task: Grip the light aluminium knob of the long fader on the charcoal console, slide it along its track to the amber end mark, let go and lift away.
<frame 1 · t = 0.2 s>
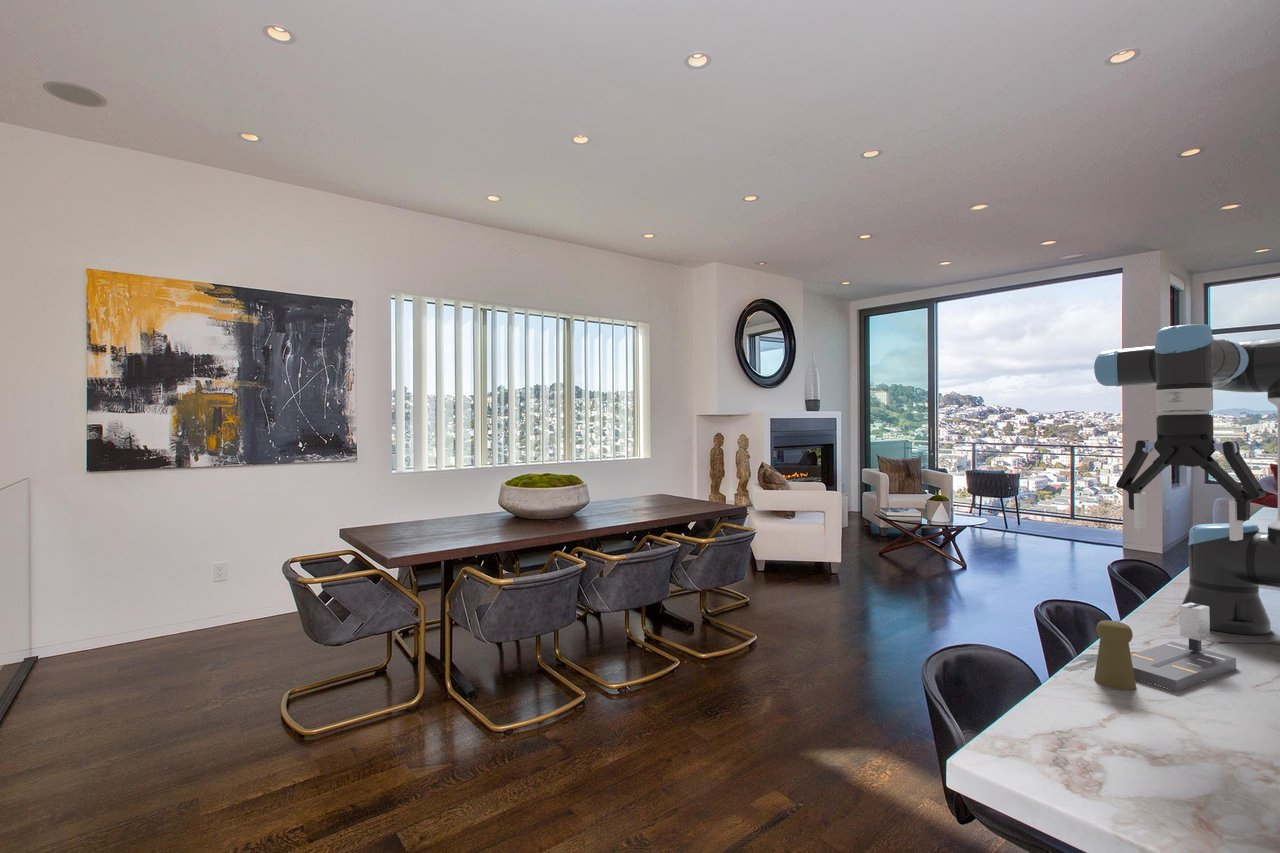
hand: (1185, 533, 108), 27 cm above the kitchen island, tool pointing down, fingers open, 13 cm apart
fader console: (1174, 670, 116), on the kitchen island
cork: (1114, 684, 111), on the kitchen island
fader knob: (1194, 627, 120), point 7 cm above the kitchen island, slide at 0.0 cm
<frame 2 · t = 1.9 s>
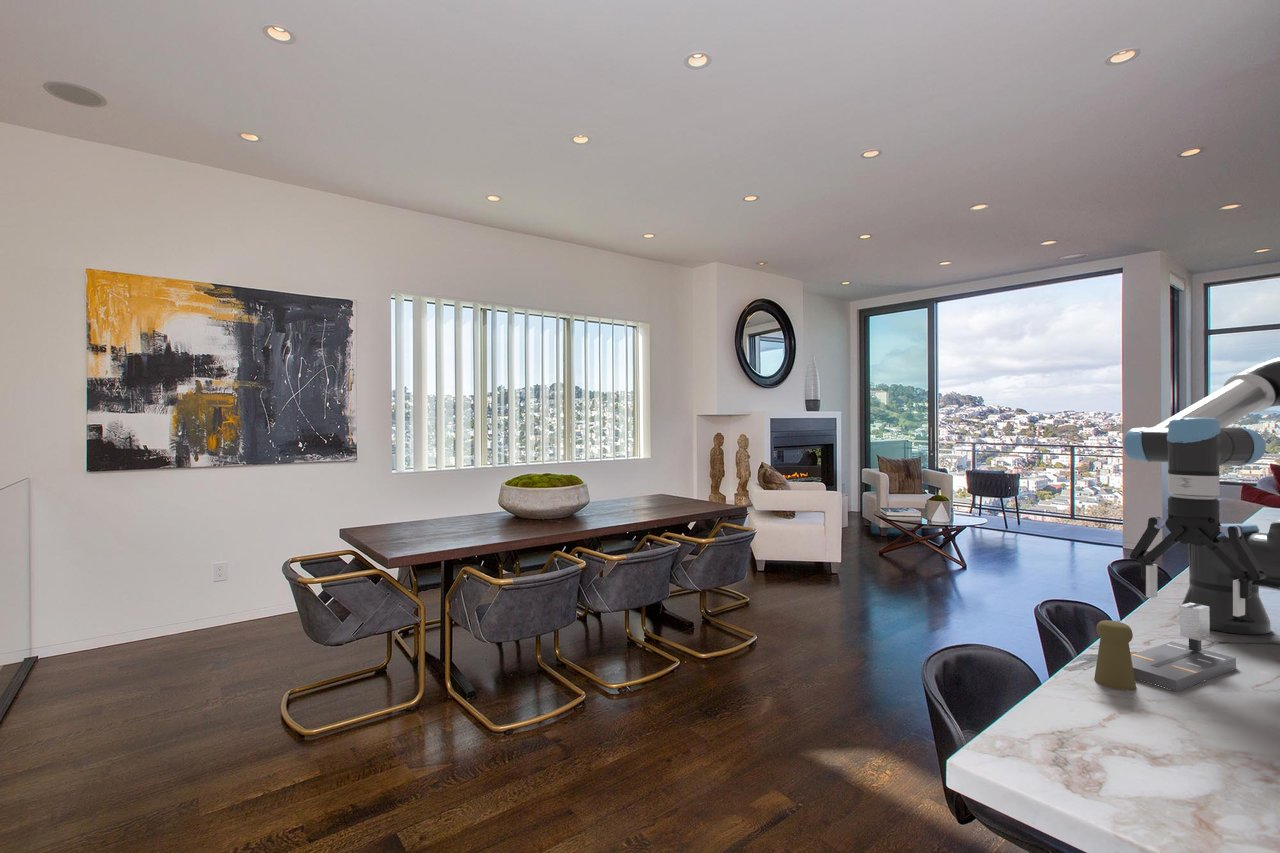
hand: (1193, 605, 120), 11 cm above the kitchen island, tool pointing down, fingers open, 13 cm apart
nothing on the kitchen island moved.
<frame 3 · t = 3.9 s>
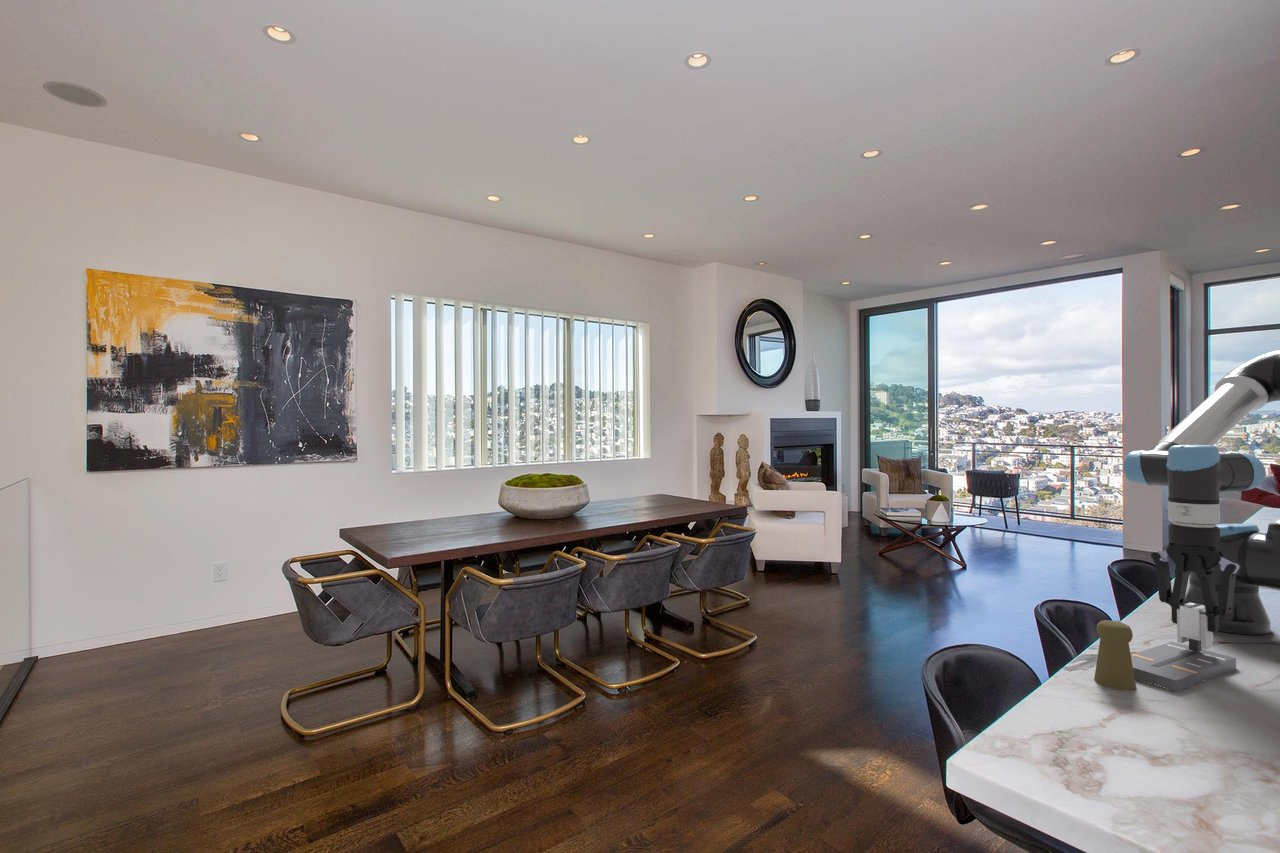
hand: (1194, 644, 120), 4 cm above the kitchen island, tool pointing down, fingers closed on fader knob, 3 cm apart
fader knob: (1194, 627, 120), point 7 cm above the kitchen island, slide at 0.0 cm, touching gripper
everything else where it was.
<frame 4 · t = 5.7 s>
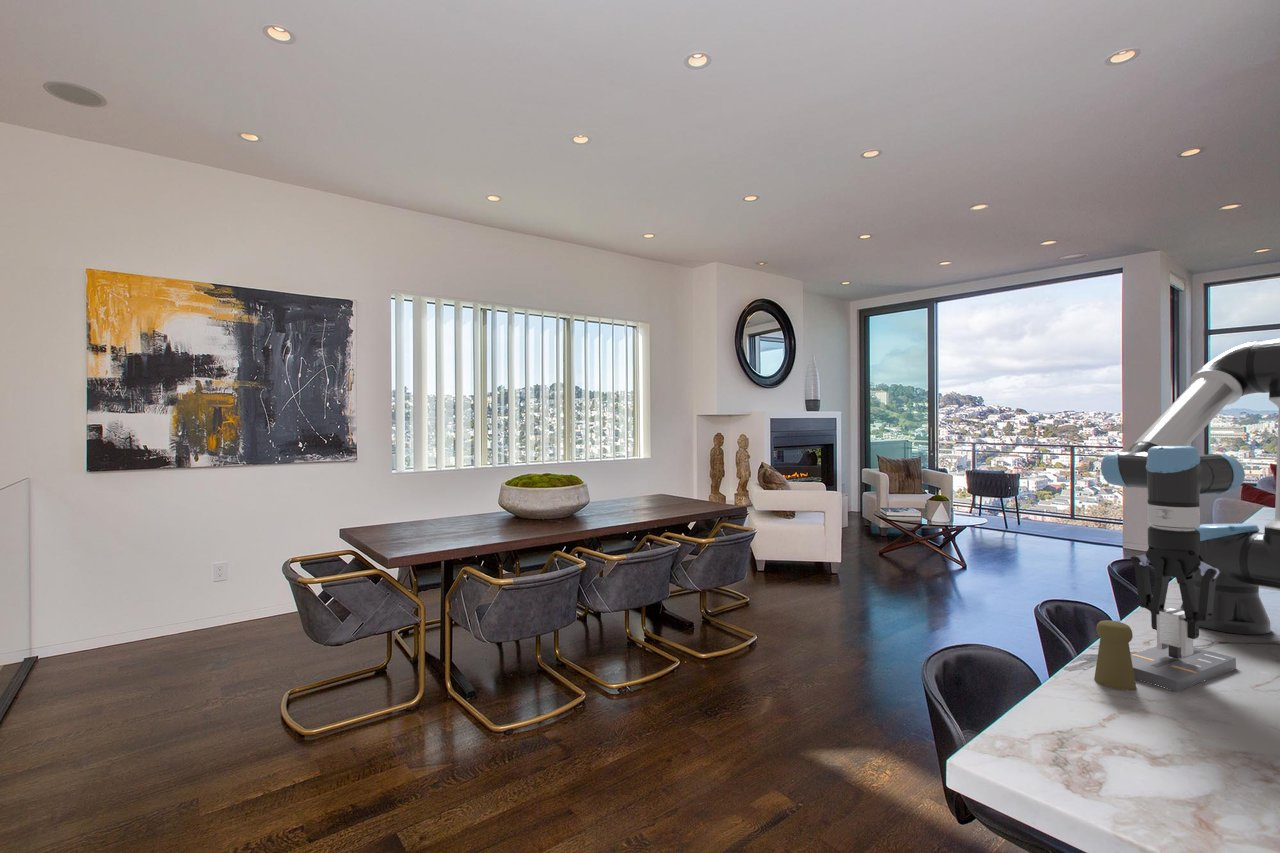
hand: (1174, 650, 116), 4 cm above the kitchen island, tool pointing down, fingers closed on fader knob, 3 cm apart
fader knob: (1174, 634, 116), point 7 cm above the kitchen island, slide at 7.6 cm, touching gripper
everything else where it was.
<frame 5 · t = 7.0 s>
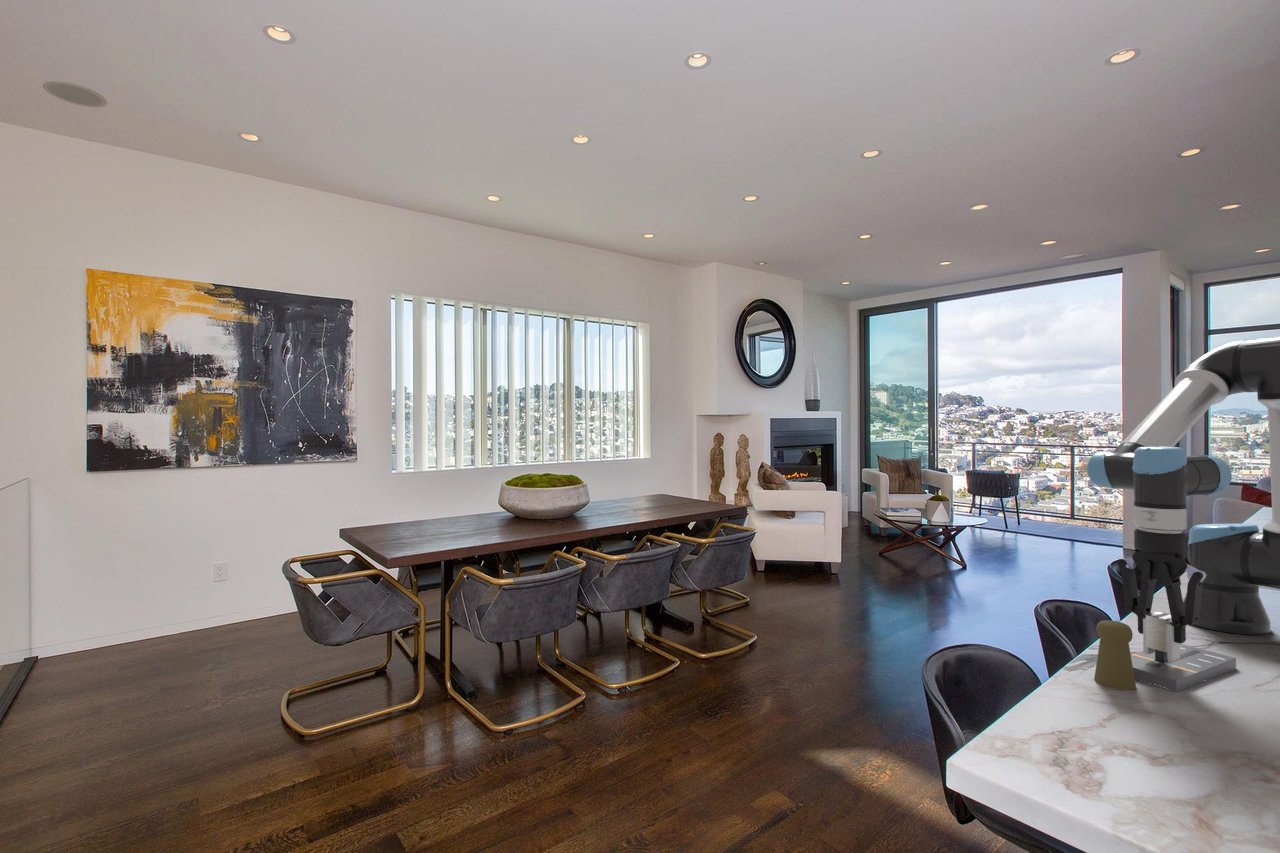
hand: (1161, 655, 114), 4 cm above the kitchen island, tool pointing down, fingers closed on fader knob, 3 cm apart
fader knob: (1161, 638, 114), point 7 cm above the kitchen island, slide at 12.4 cm, touching gripper
everything else where it was.
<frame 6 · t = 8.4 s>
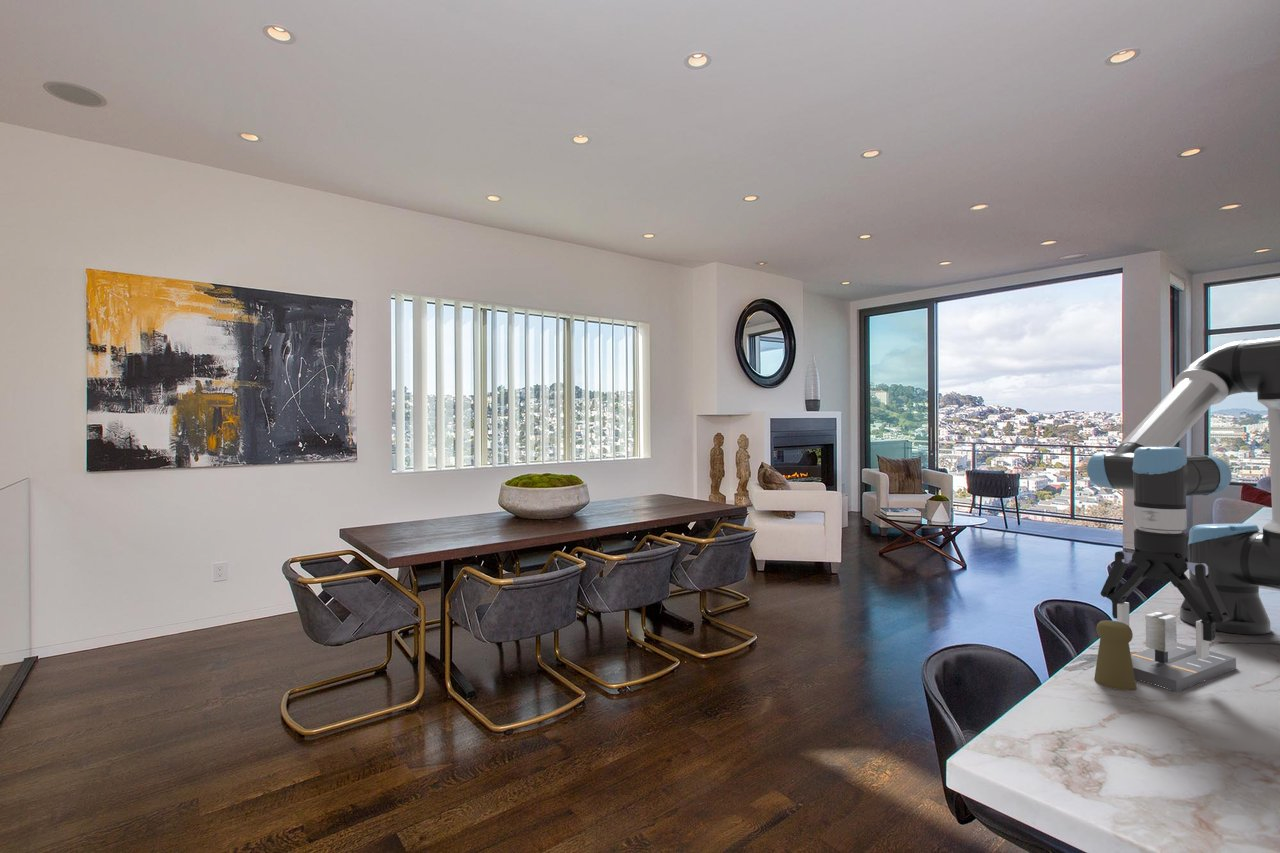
hand: (1161, 646, 114), 5 cm above the kitchen island, tool pointing down, fingers open, 11 cm apart
fader knob: (1161, 638, 114), point 7 cm above the kitchen island, slide at 12.5 cm
everything else where it was.
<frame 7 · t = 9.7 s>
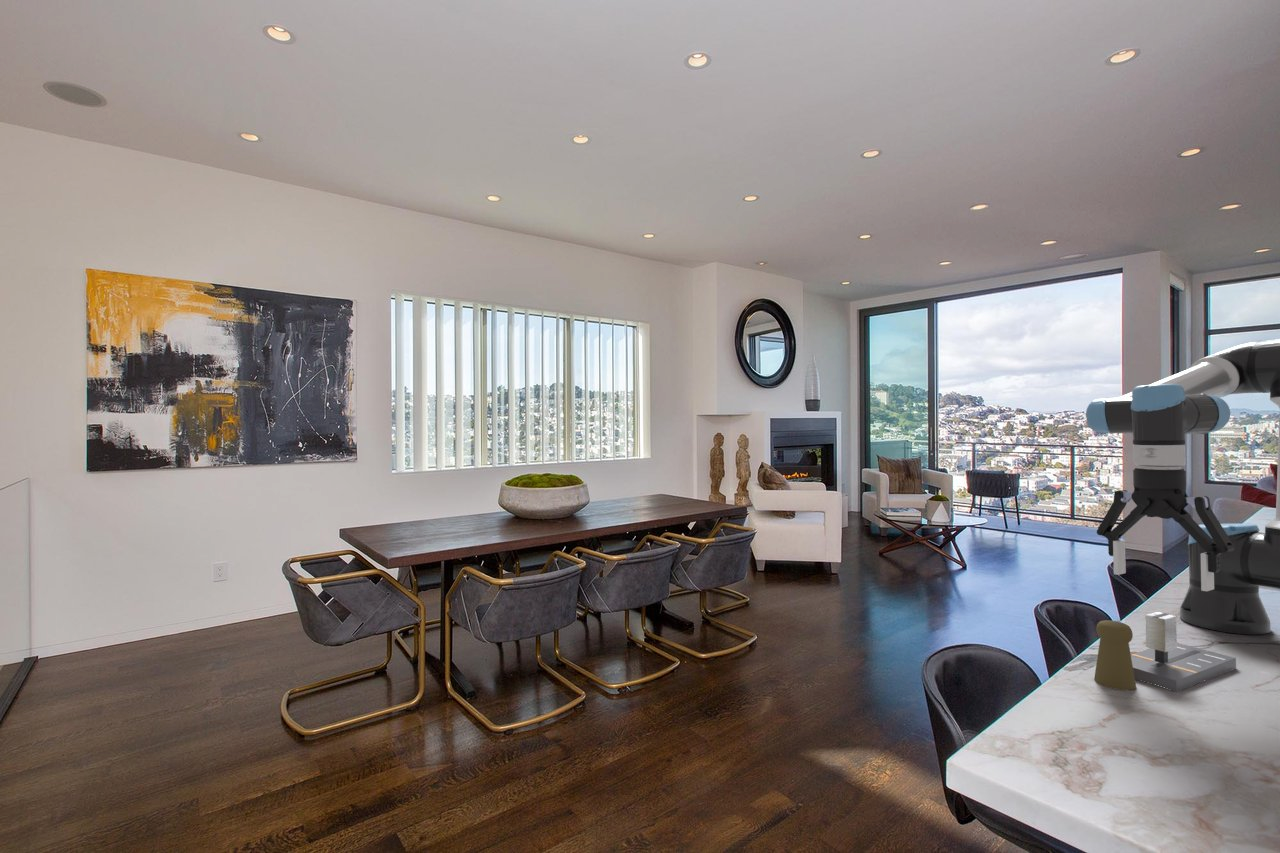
hand: (1161, 581, 114), 17 cm above the kitchen island, tool pointing down, fingers open, 13 cm apart
nothing on the kitchen island moved.
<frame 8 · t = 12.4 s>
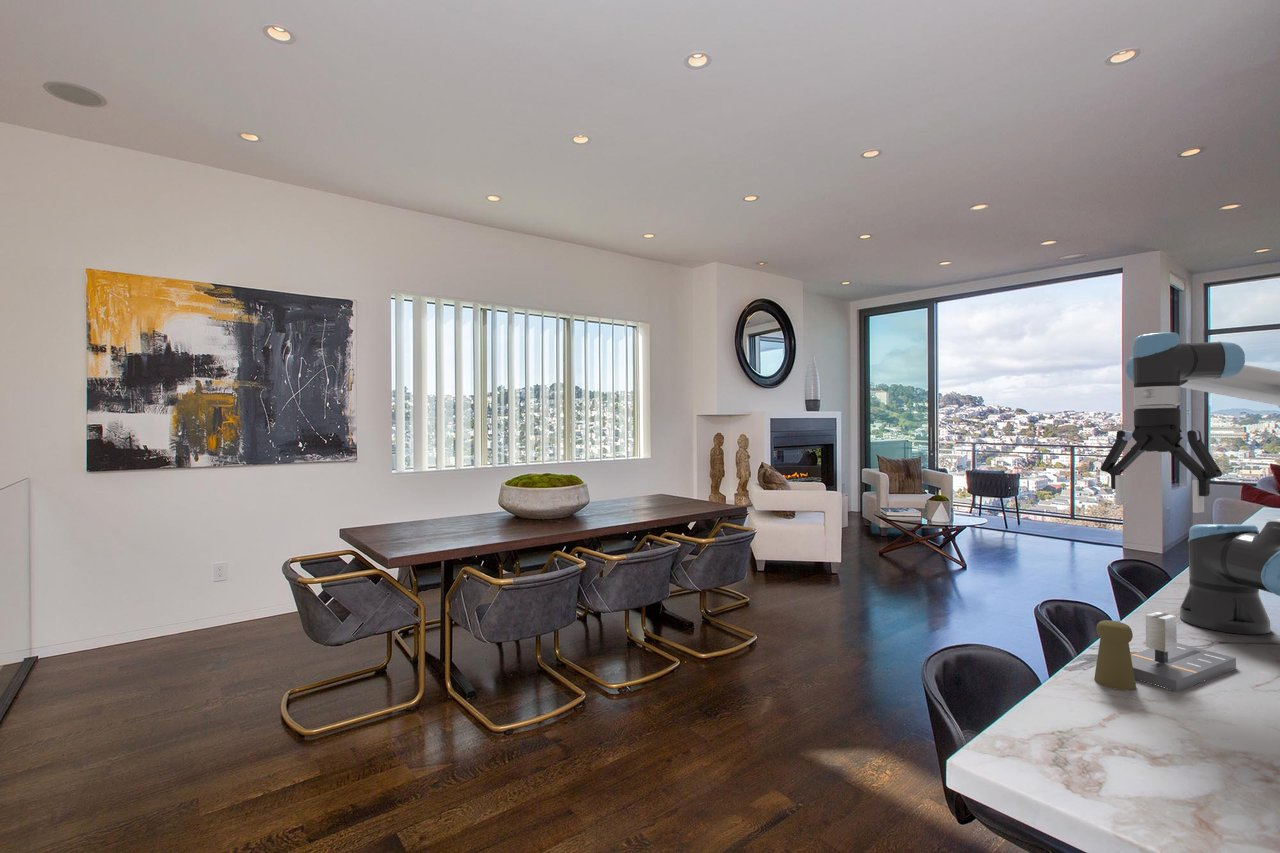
hand: (1157, 508, 129), 29 cm above the kitchen island, tool pointing down, fingers open, 13 cm apart
nothing on the kitchen island moved.
at the end: fader knob slide at 12.5 cm; the gripper is holding nothing; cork moved 0.2 cm from its start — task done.
